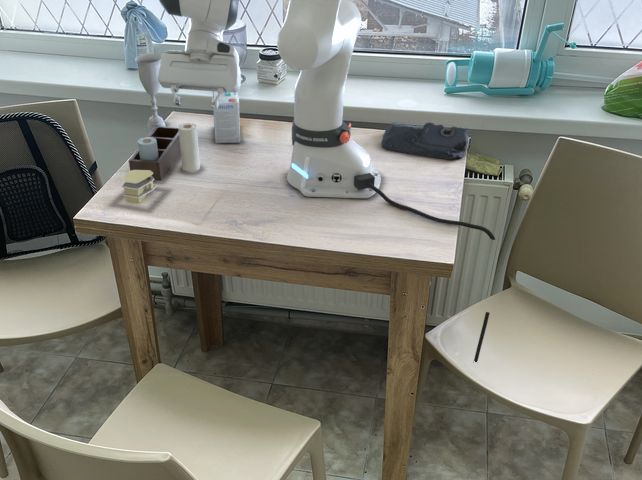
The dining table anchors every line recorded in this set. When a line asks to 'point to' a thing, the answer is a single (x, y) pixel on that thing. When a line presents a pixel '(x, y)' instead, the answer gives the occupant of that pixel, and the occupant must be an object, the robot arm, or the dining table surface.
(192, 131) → the towel roll
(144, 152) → the roll
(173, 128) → the roll caddy
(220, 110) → the light bulb box
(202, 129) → the dining table surface
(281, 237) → the dining table surface
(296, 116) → the robot arm
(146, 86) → the chalice
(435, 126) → the dark lumpy pouch
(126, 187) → the stacked layers on plate
